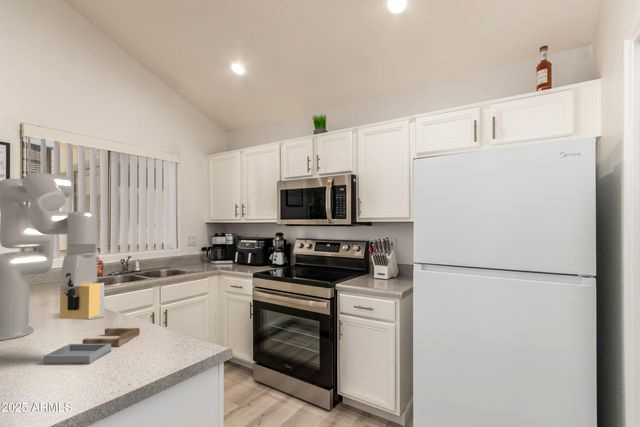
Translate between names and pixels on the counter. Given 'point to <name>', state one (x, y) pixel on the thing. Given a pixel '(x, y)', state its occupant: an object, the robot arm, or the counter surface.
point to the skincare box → (101, 302)
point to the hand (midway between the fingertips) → (80, 306)
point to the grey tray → (77, 354)
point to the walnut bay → (124, 334)
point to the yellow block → (82, 303)
